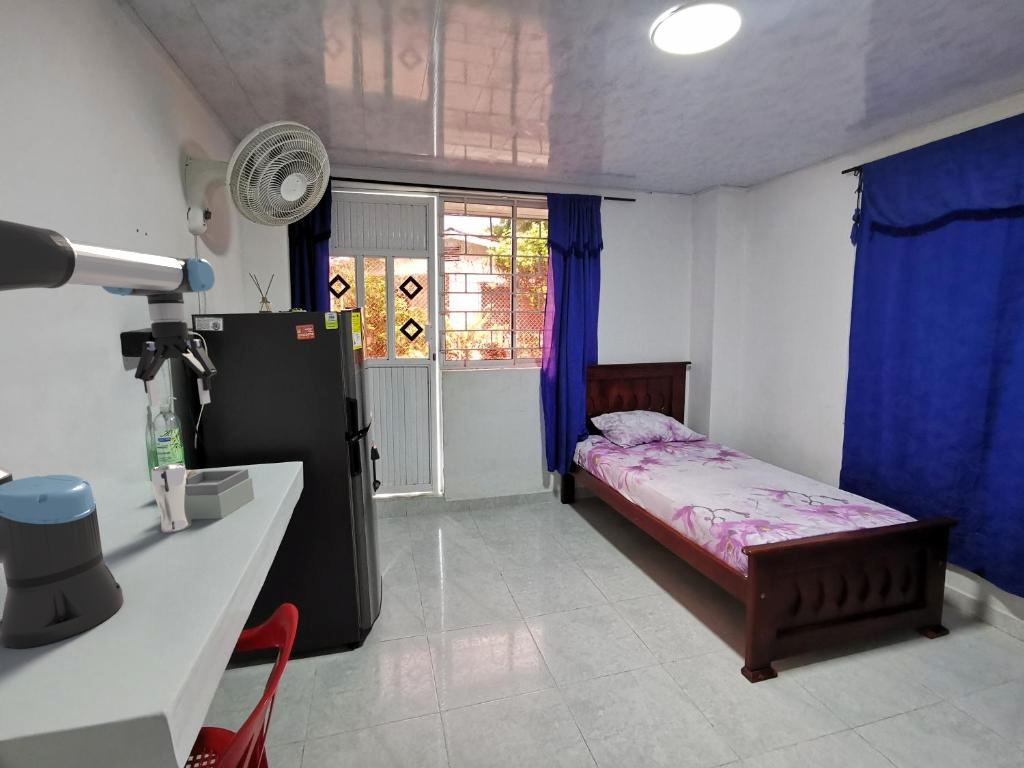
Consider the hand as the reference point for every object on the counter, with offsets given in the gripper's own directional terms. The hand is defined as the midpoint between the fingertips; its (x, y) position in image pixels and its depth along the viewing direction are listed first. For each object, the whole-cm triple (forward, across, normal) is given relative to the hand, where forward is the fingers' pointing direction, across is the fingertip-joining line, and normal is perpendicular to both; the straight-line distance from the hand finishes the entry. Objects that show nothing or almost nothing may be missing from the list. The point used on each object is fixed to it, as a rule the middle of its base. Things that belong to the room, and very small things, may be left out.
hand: (180, 404), depth 128 cm
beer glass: (+28, -4, +12) cm, 31 cm away
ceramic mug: (+28, +13, -13) cm, 34 cm away
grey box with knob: (+28, -4, 0) cm, 28 cm away
